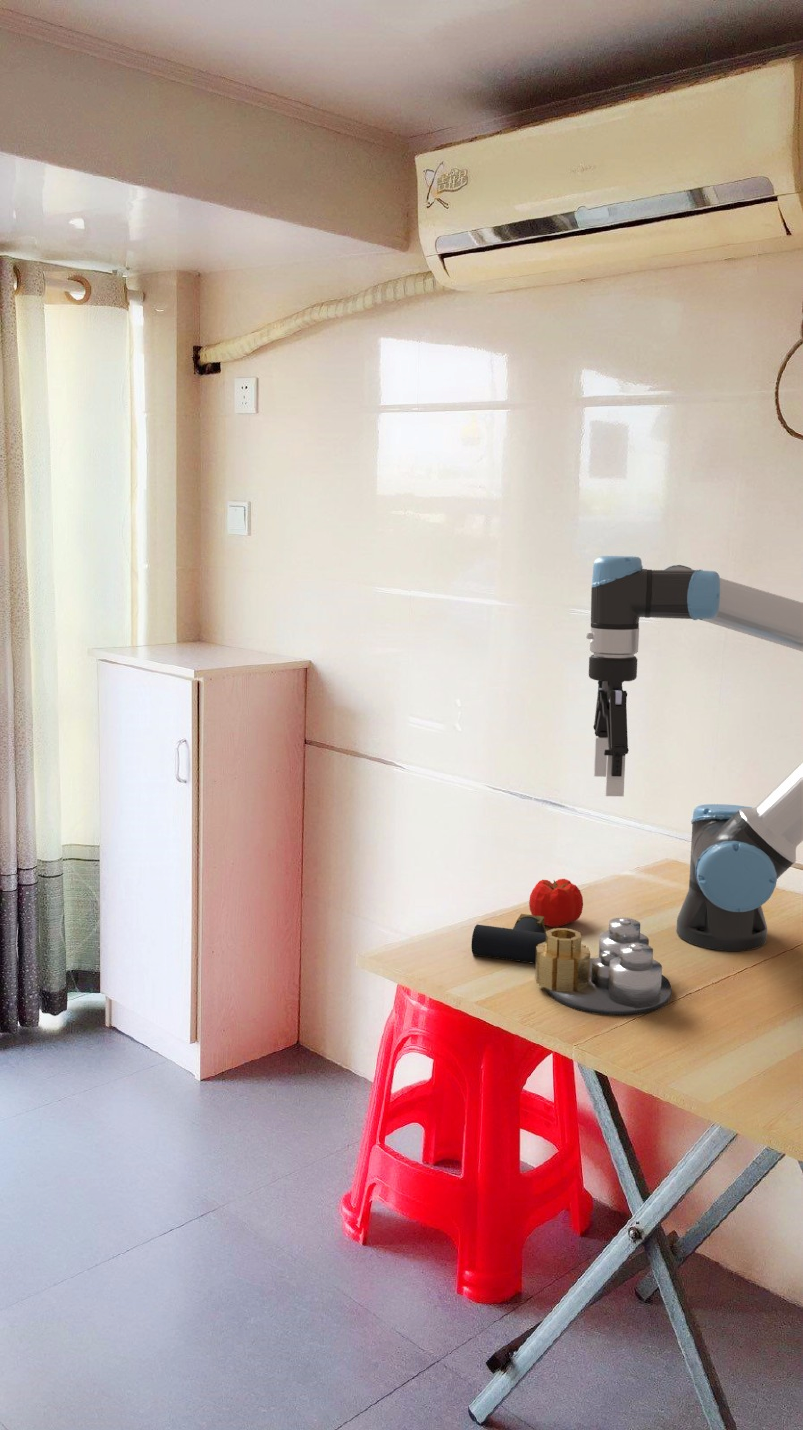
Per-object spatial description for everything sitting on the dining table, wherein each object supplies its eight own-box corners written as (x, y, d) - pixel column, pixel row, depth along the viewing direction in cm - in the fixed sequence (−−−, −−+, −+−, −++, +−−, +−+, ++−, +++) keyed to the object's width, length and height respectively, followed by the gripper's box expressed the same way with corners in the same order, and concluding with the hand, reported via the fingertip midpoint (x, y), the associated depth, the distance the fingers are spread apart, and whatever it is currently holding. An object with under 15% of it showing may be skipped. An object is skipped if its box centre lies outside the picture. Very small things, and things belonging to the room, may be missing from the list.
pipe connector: (490, 906, 200) (576, 917, 195) (489, 935, 201) (575, 946, 196) (471, 930, 190) (562, 941, 185) (471, 960, 191) (561, 973, 186)
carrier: (658, 966, 188) (660, 911, 186) (682, 1017, 169) (685, 956, 167) (540, 964, 188) (541, 909, 186) (551, 1014, 169) (553, 953, 168)
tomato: (524, 928, 204) (526, 887, 203) (535, 912, 213) (536, 872, 211) (577, 934, 202) (579, 893, 200) (586, 918, 210) (587, 878, 209)
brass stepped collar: (584, 971, 182) (586, 925, 181) (591, 992, 174) (593, 944, 173) (533, 970, 183) (535, 924, 181) (538, 990, 175) (539, 943, 173)
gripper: (580, 645, 196) (575, 768, 200) (600, 664, 171) (595, 804, 175) (624, 645, 196) (619, 769, 199) (651, 665, 171) (645, 805, 175)
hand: (608, 785), depth 187 cm, fingers open, 13 cm apart
